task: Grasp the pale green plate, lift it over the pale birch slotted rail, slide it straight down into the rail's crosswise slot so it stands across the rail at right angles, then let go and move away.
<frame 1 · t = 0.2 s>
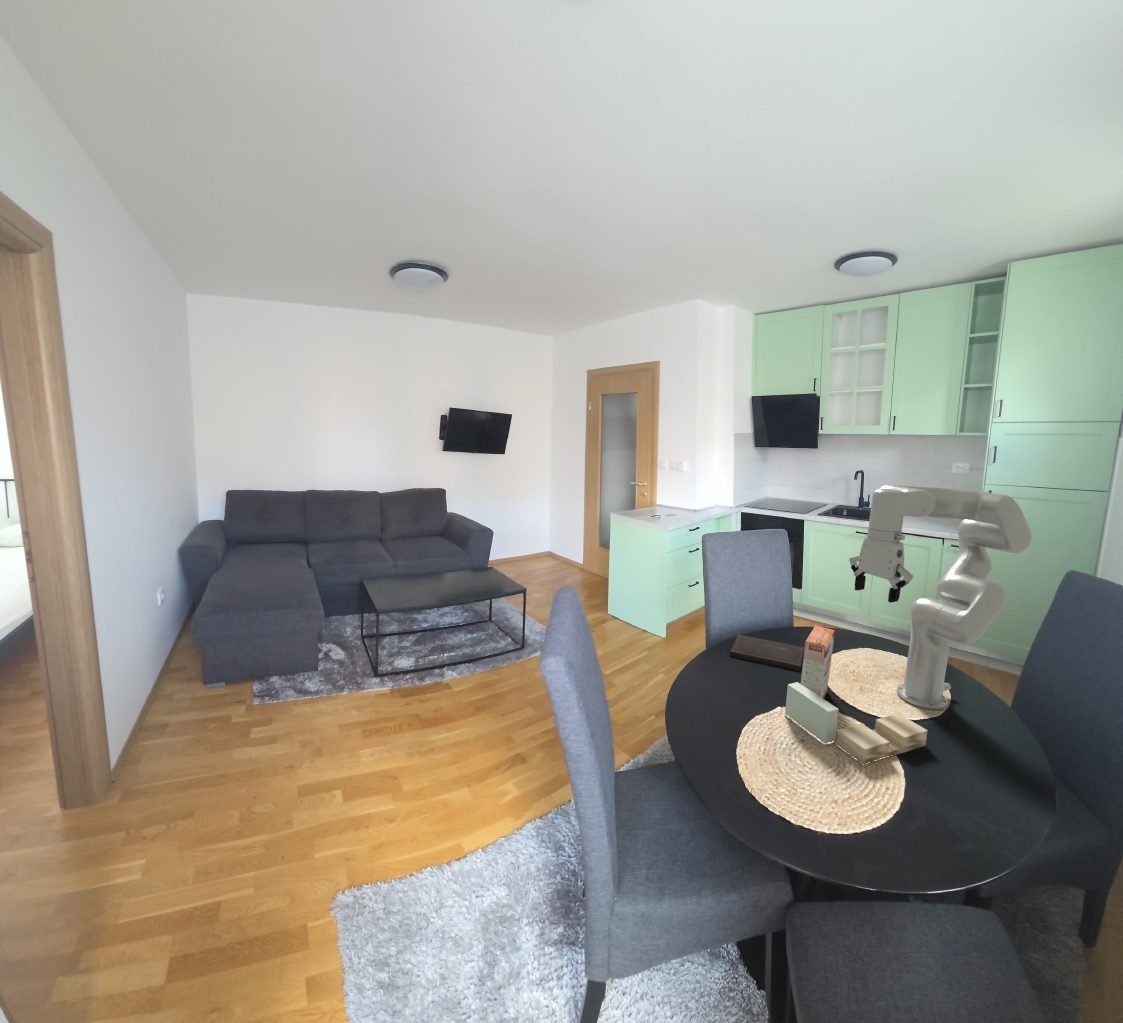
hand: (875, 595, 138), 36 cm above the table, tool pointing down, fingers open, 9 cm apart
hardcover book: (766, 655, 181), on the table
cracker box: (813, 699, 153), on the table
slotted rail: (880, 745, 132), on the table
pale green plate: (808, 728, 139), on the table
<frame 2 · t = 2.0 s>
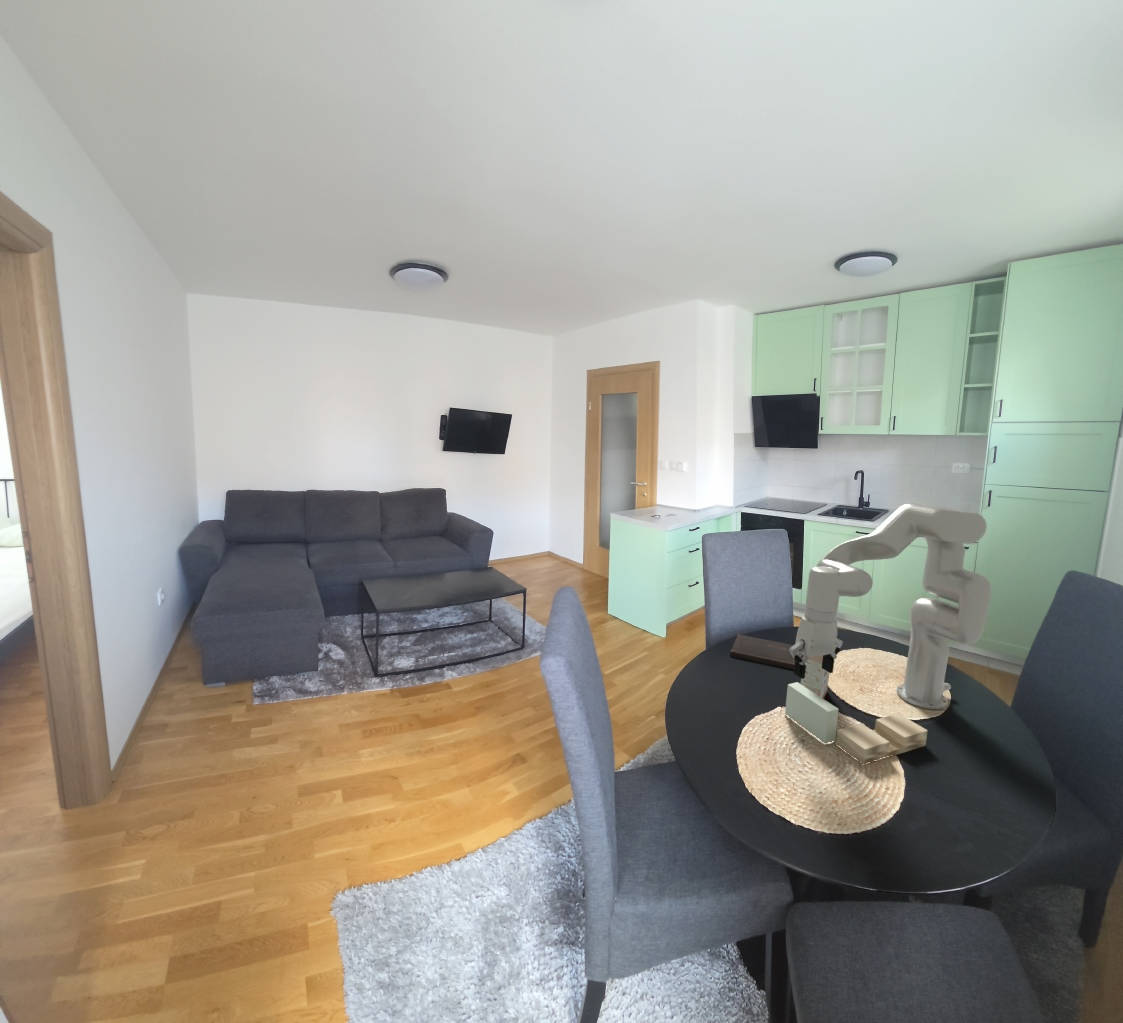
hand: (813, 673, 135), 17 cm above the table, tool pointing down, fingers open, 9 cm apart
nothing on the table moved.
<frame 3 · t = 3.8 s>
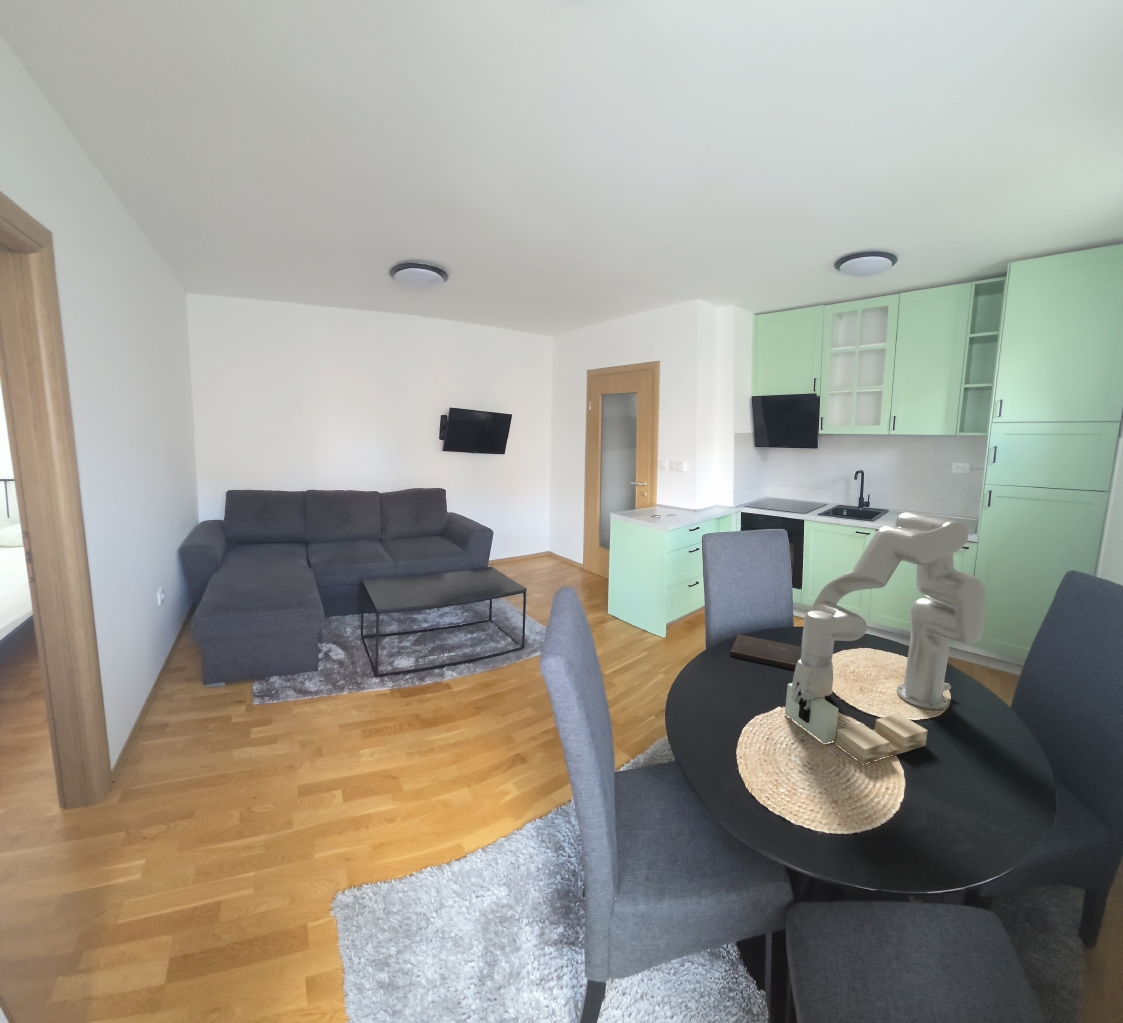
hand: (809, 717, 138), 3 cm above the table, tool pointing down, fingers closed on pale green plate, 3 cm apart
pale green plate: (808, 728, 139), on the table, touching gripper
everything else where it was.
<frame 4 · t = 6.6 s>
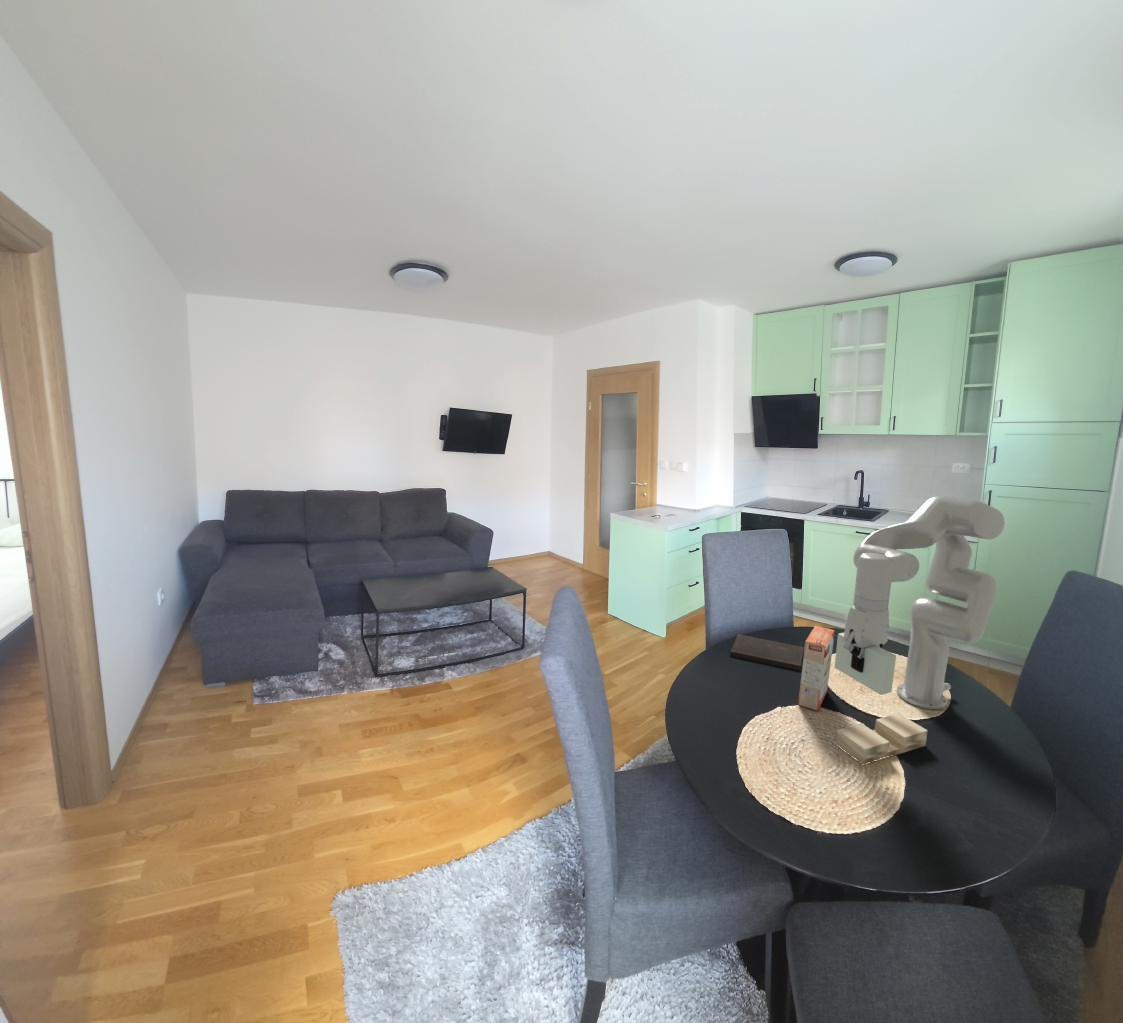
hand: (863, 667, 130), 21 cm above the table, tool pointing down, fingers closed on pale green plate, 3 cm apart
pale green plate: (861, 679, 131), point 17 cm above the table, touching gripper
everything else where it was.
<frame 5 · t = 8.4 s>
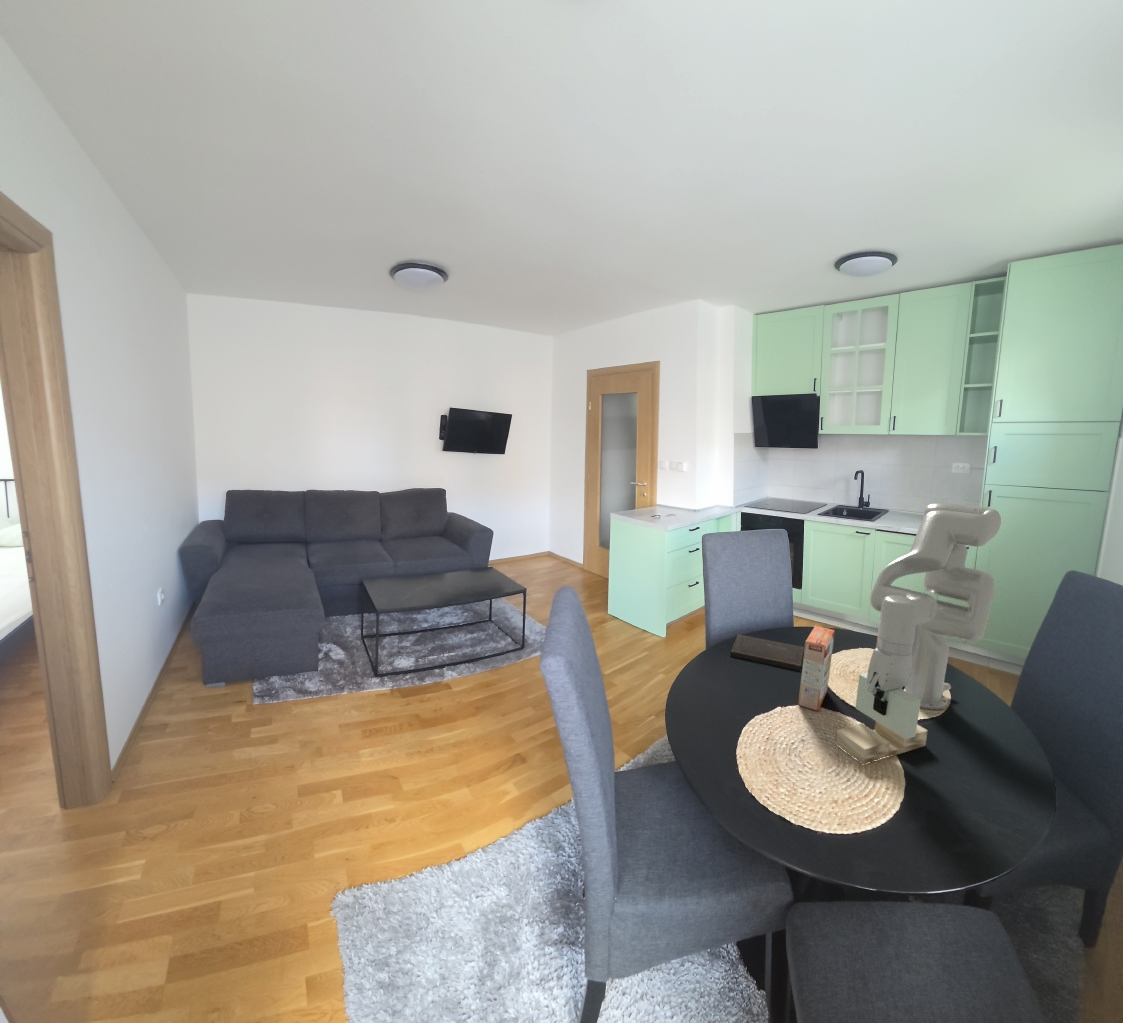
hand: (885, 710, 130), 10 cm above the table, tool pointing down, fingers closed on pale green plate, 3 cm apart
pale green plate: (883, 721, 130), point 7 cm above the table, touching gripper
everything else where it was.
when the fingers open (6 cm above the table, at t = 9.7 s): pale green plate stays where it is, resting on slotted rail.
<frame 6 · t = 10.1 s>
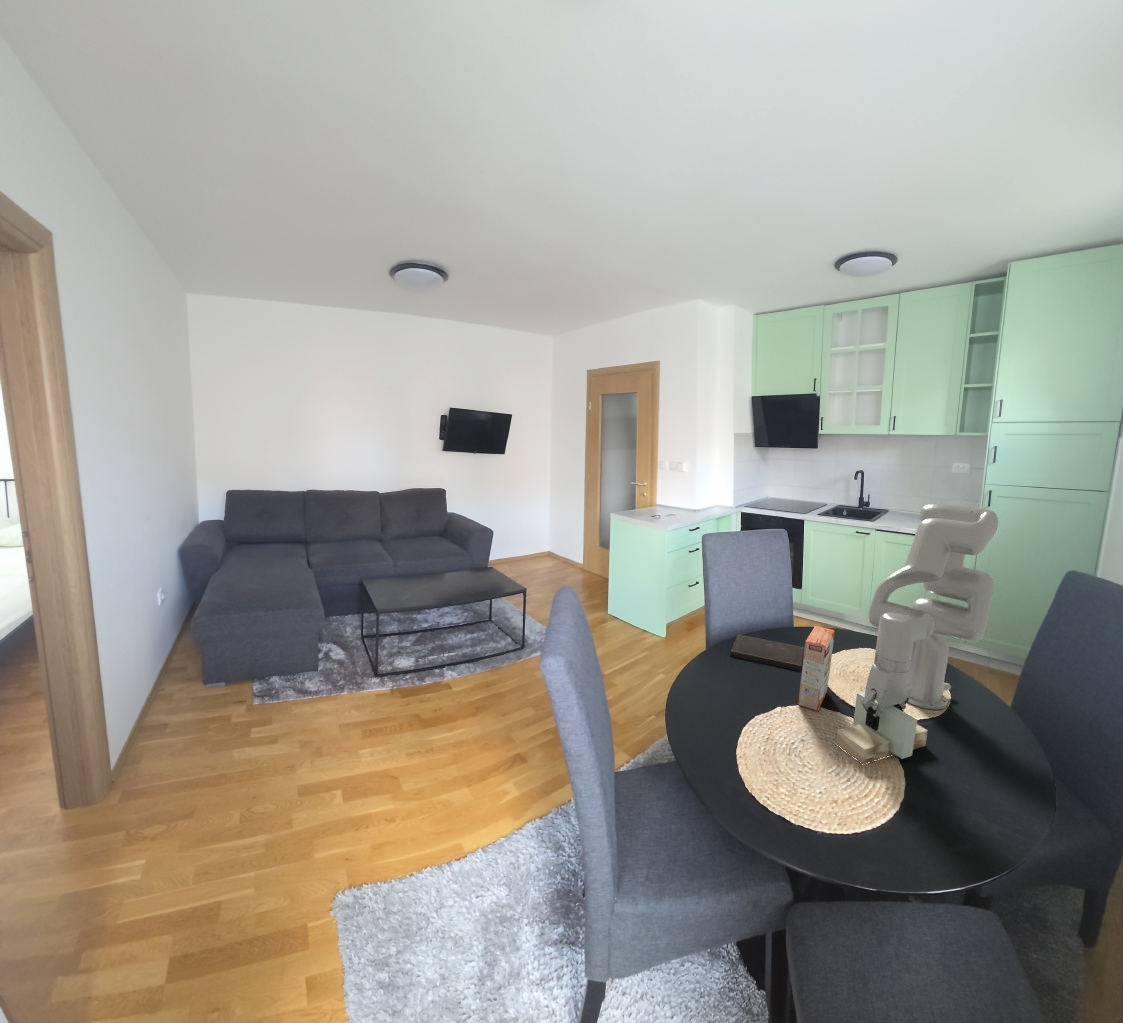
hand: (883, 723, 130), 6 cm above the table, tool pointing down, fingers open, 7 cm apart
pale green plate: (881, 740, 131), point 1 cm above the table, touching slotted rail
everything else where it was.
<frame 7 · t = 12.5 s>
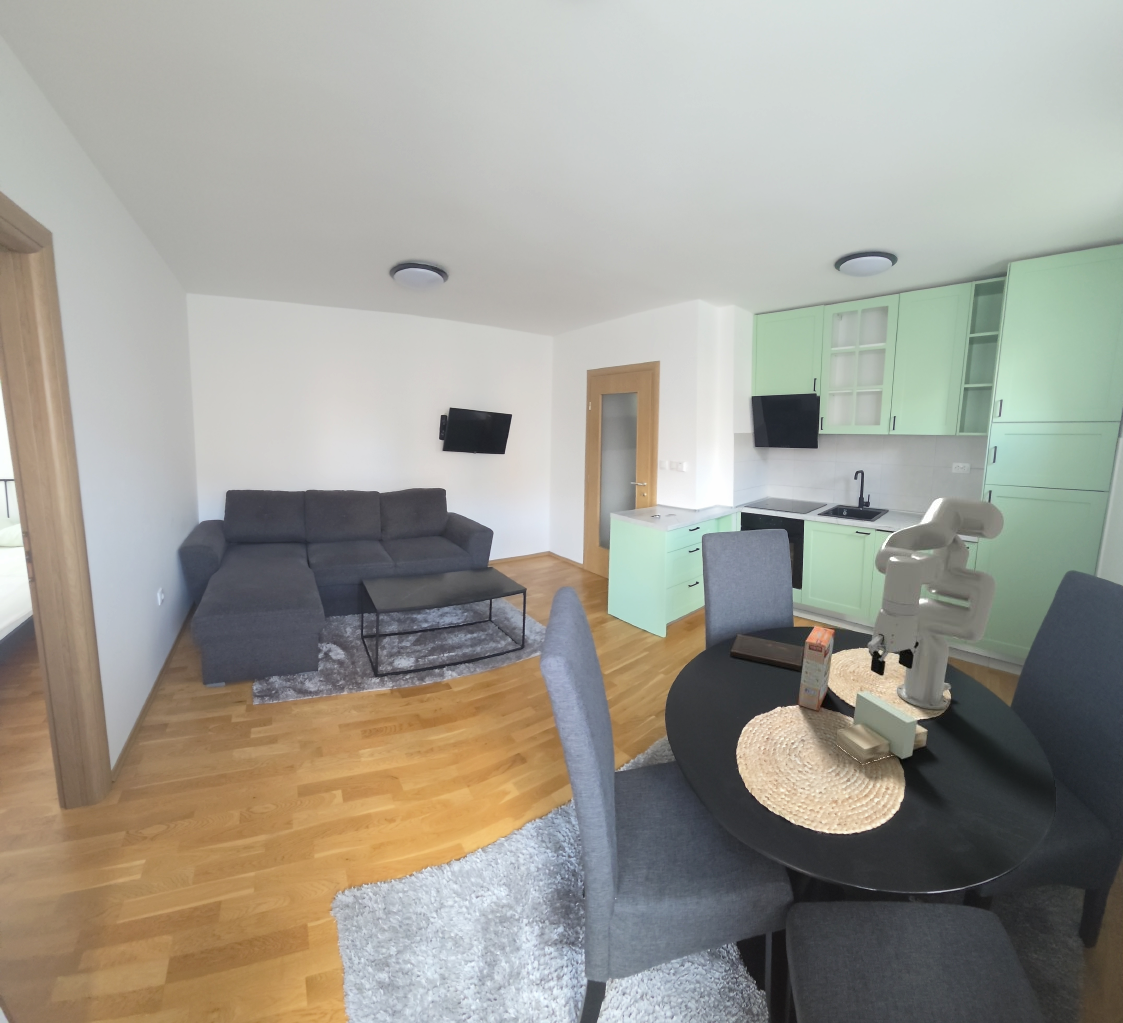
hand: (891, 669, 127), 22 cm above the table, tool pointing down, fingers open, 9 cm apart
nothing on the table moved.
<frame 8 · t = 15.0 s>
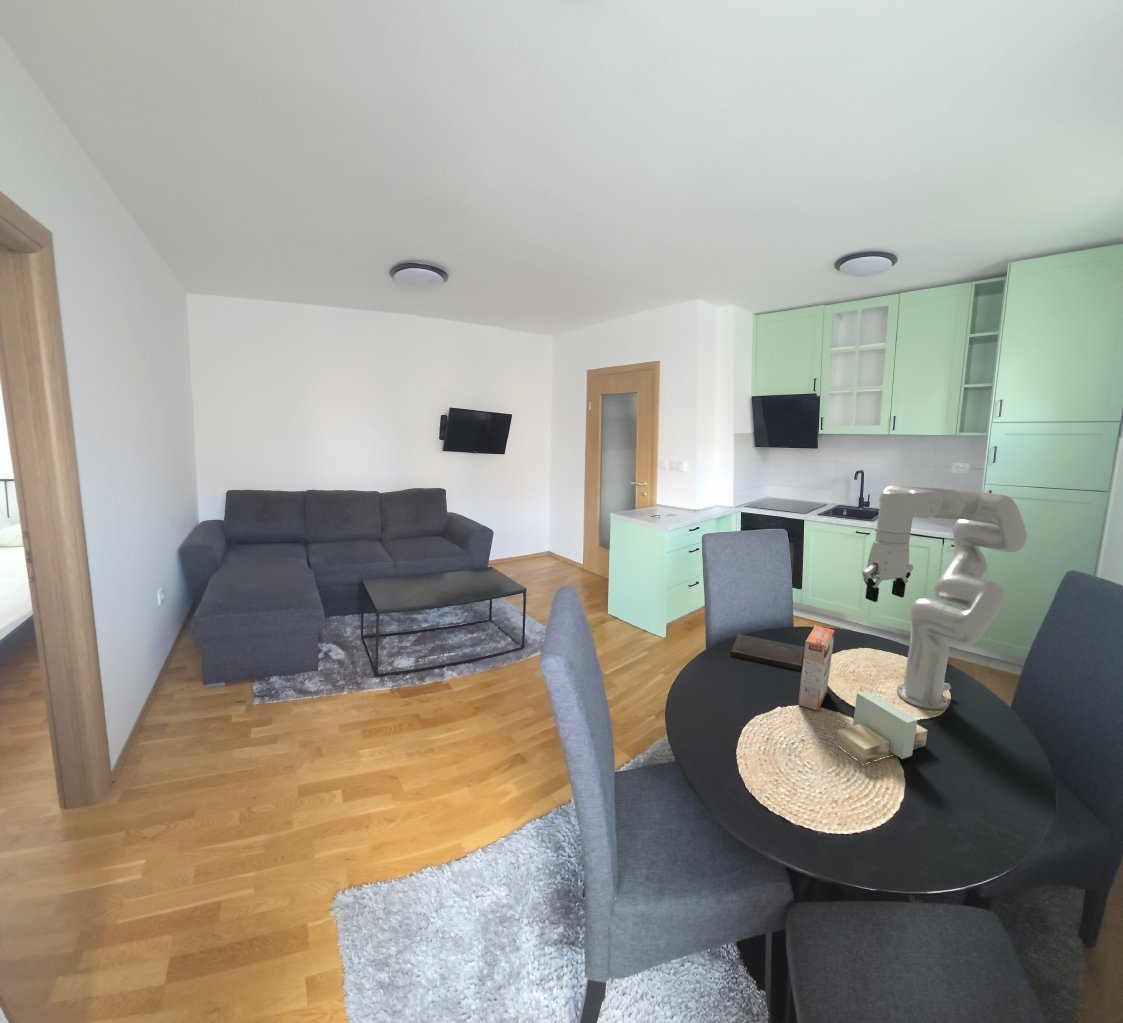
hand: (884, 598, 136), 36 cm above the table, tool pointing down, fingers open, 9 cm apart
nothing on the table moved.
at the end: pale green plate 0.1 cm off-centre on the slotted rail, point 1.5 cm above the slotted rail's base; pale green plate tilted 0°; the gripper is holding nothing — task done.
